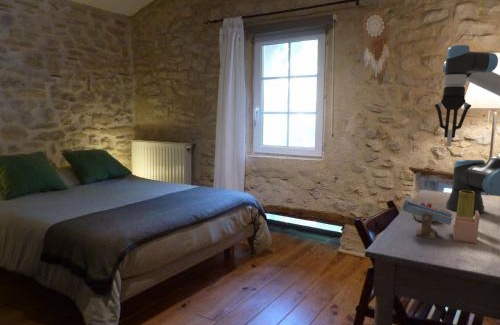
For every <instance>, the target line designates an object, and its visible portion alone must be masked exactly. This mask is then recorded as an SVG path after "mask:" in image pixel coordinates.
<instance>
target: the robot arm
mask: <svg viewBox="0 0 500 325" xmlns="http://www.w3.org/2000/svg"><path fill="white" fill-rule="evenodd" d="M445 59H446V60H445V61H444V62H443V65H442V70H443V73H444V81H443V85H444V86H445V87H443V91H442V93H443V94H442V98H441V99H440V100H441V101H439V102H438V103H435V104H434V106H435V109H436V110H437V114H438V115H437V116H438V122H439V128H441V129H444V133H443V134H444V135H443V137H444V138H446V145H445V146H446V147H451V146H452V139H455V138H456V132H457V130H459V129H462V126H463V124H464V122H465V118H466V116H467V112H468V110H470V108H471V107H472V104H469V102H466V99H465V96H466V95H465V93H466V87H465V86H466V84H467V82H468V83H471V84H473V85H475V86H477V87H479V88H482V89H484V90H485V91H487V92H490V93H492V94H494V95H496V96H499V97H500V74H498V73H496V72H495V69H496V68H497V67H498V62H499V57H498V55H497V54H496V53H493V52H487V51H486V52H481V51H480V52H478V51H471V50H470V46H469V45H466V44H456V45H450V46H449V47H448V48H447V52H446V57H445ZM442 106H443V107H444V109H445V110H446V114H445V122H443V120H444V119H443V116H442V109H441V108H442ZM461 107H463V111H462V113H461V116H460V119H459V122H458V124H457V121H458V111H459V110H460V109H461ZM451 111H453V116H452V127H451V129H449V128H450V127H449V126H450V117H451V116H450V114H451ZM444 123H445V124H444ZM451 187H452V188H451V192H450V195H449V196H448V200H447V201H446V203H445V208H446V209H447V210H450V211H453V212H457V206H458V199H459V191H460V190H466V191H473V192H475V200H474V212H473V215H475V210H476V211H478V212H479V215H480V214H484V213H485V205H484V201H483V197H482V193H485V194H488V195H491V196H498V197H500V152H499V153H497V155H495V156H491V157H490V158H488V160H487V161H486V162H485V160H483V159H457V160H456V161H455V162H454V166H453V177H452V186H451Z"/></svg>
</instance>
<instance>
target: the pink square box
mask: <svg viewBox="0 0 500 325" xmlns="http://www.w3.org/2000/svg"><path fill="white" fill-rule="evenodd" d="M480 216H481V215H480V214H479V212H478V211H476V210H475V214H474V217H473V218H465V217H458V216H456V215H455V220H456V225H455V224H453V226H452V227H453V229H452V241H454V242H460V243H466V244H474V245H477V242H478V233H479V225H480Z"/></svg>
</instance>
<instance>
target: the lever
mask: <svg viewBox="0 0 500 325" xmlns="http://www.w3.org/2000/svg"><path fill="white" fill-rule="evenodd" d="M410 198H411V197H407V196H406V197H405V199H404V202H403V206H402V209H401V211H404V212H406V213H409V214H411V215H412V214H415V215H419V216H422V217H423V213H428V214H432V220H435V221H434V222H439V223H441V224H445V225H449V226H451V224H452V220H453V217H452V215H453V214H451V213H450V212H448V211H447V210H446V211H445V210H441V209H437V208H436V209H437V210H436V209H432V207H431V208H429V207H426V205H425V206H422V205H421V204H418V203H415V202H411V201H410Z"/></svg>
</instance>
